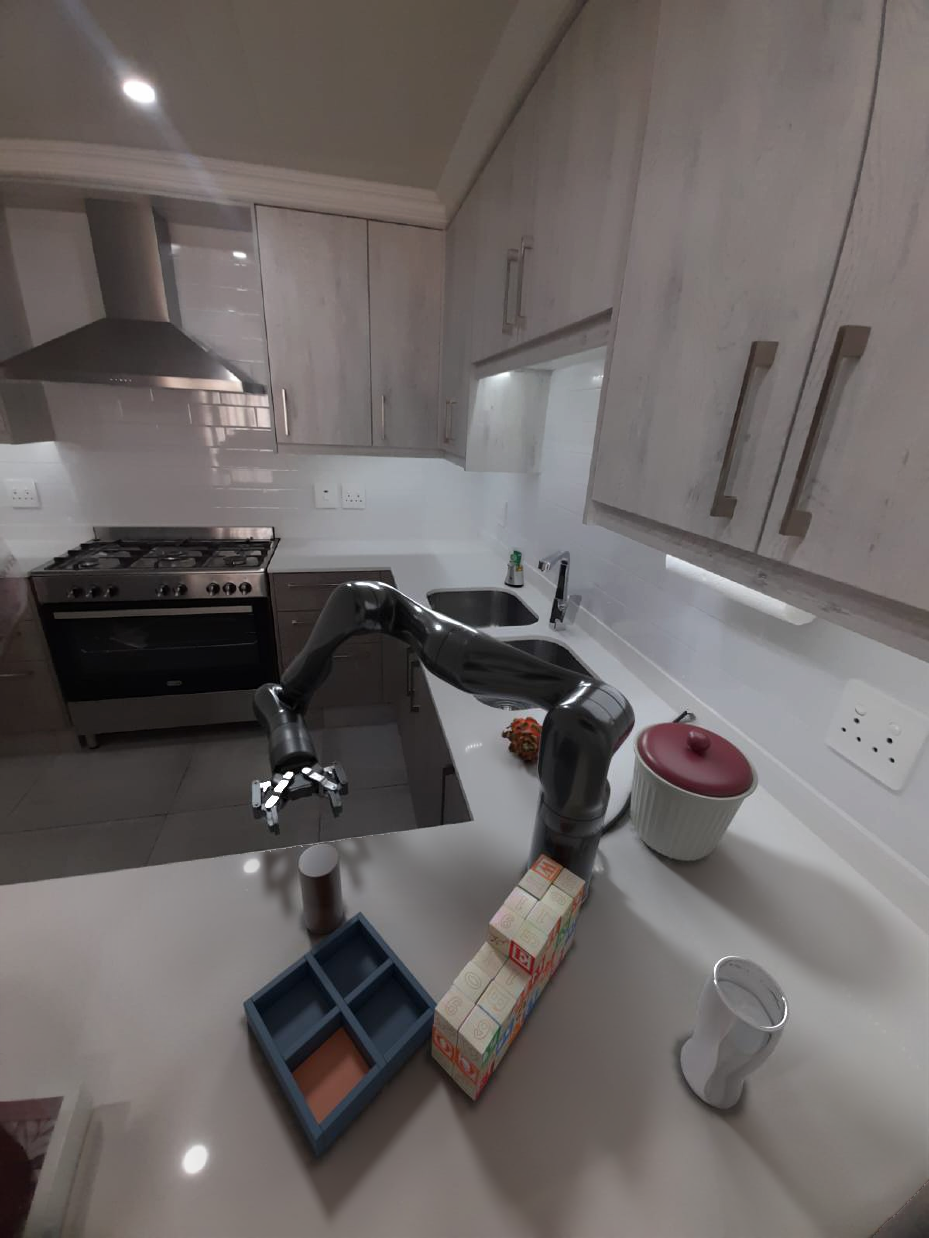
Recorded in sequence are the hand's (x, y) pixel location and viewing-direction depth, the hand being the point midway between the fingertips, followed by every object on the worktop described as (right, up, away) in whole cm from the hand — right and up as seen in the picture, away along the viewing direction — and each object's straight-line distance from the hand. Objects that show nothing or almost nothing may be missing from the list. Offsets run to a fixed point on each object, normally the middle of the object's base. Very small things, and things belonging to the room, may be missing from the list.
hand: (307, 821), depth 72 cm
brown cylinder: (+4, -11, -5) cm, 13 cm away
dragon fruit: (+35, +2, +29) cm, 46 cm away
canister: (+58, -7, +11) cm, 60 cm away
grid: (+9, -16, -16) cm, 25 cm away
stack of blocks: (+28, -16, -13) cm, 35 cm away
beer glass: (+50, -20, -19) cm, 57 cm away
